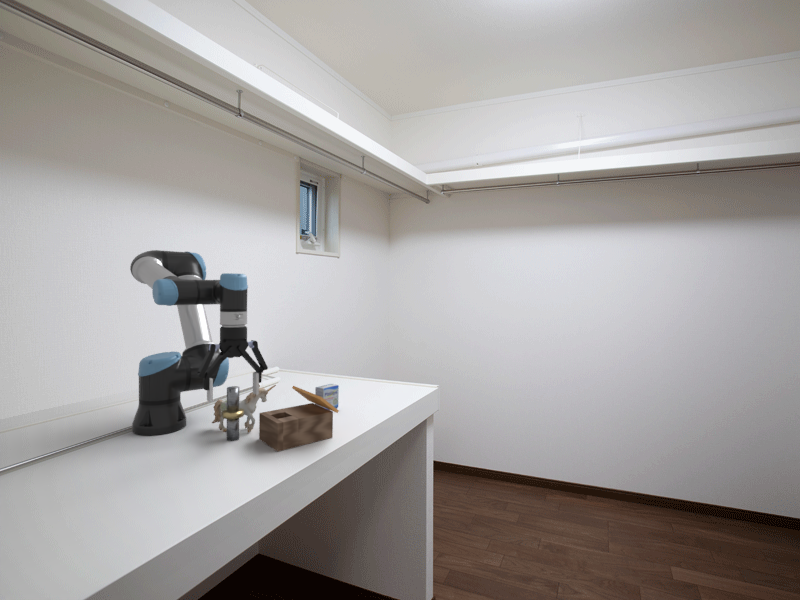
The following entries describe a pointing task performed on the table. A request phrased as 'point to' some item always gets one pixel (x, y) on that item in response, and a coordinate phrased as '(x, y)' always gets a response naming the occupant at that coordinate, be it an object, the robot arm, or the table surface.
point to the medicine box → (328, 394)
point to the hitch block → (295, 426)
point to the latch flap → (315, 399)
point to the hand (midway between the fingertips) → (233, 397)
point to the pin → (232, 413)
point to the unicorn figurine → (245, 404)
